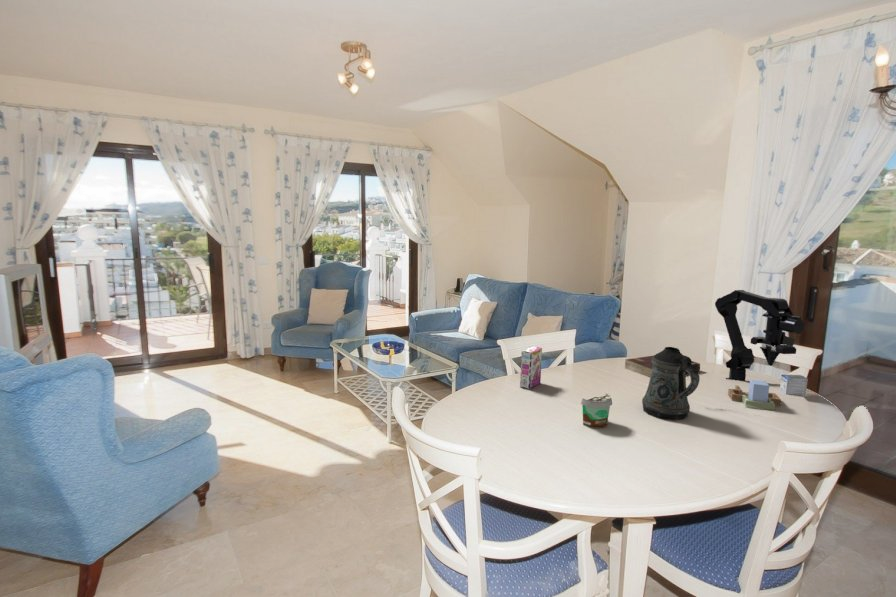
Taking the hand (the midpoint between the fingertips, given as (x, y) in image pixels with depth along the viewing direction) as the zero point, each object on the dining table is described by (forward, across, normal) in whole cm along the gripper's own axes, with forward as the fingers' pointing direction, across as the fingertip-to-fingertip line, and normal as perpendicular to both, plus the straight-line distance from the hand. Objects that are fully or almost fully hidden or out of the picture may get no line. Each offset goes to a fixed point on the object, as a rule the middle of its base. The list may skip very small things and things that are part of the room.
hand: (770, 365), depth 202 cm
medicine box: (+12, -5, -7) cm, 15 cm away
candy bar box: (+12, +17, +98) cm, 100 cm away
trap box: (+12, -11, +15) cm, 22 cm away
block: (+10, -17, +18) cm, 27 cm away
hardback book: (+13, +34, +28) cm, 46 cm away
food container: (+12, -27, +85) cm, 90 cm away
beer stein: (+12, -18, +54) cm, 58 cm away
